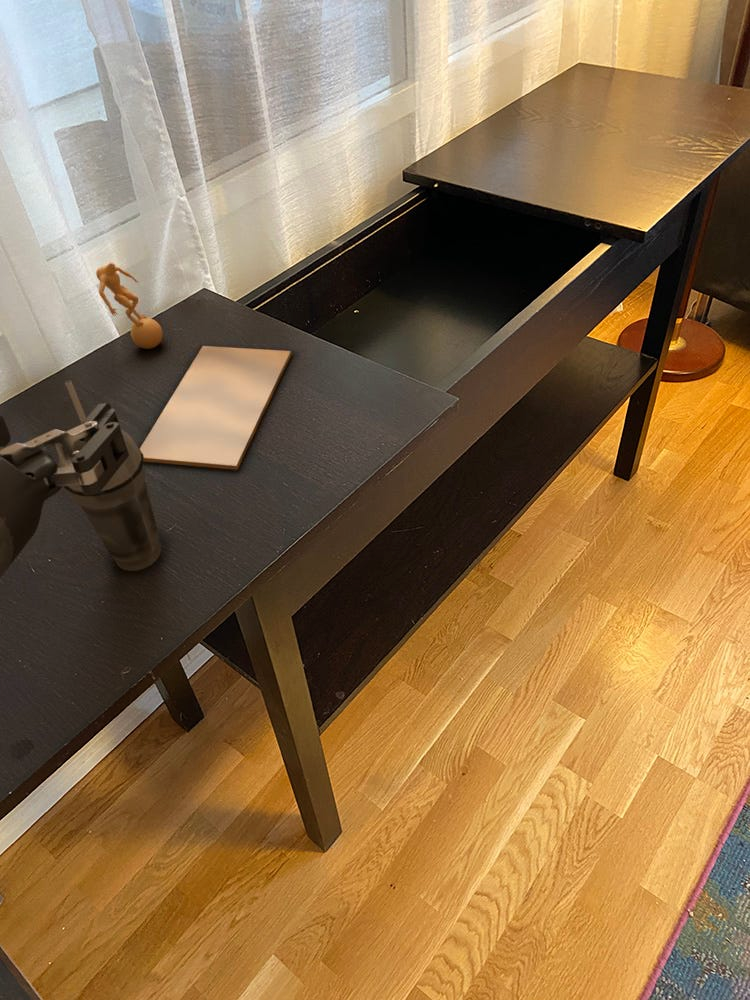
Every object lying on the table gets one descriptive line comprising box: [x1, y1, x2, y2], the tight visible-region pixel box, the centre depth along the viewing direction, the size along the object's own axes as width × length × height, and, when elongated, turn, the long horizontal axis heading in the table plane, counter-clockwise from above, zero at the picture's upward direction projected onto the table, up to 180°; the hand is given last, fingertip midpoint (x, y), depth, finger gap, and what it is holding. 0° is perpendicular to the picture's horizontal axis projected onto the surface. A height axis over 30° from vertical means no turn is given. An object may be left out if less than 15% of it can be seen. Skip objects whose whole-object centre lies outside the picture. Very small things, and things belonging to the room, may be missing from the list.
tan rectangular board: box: [139, 345, 292, 471], centre depth 94 cm, size 22×12×1 cm, turn 169°
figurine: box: [95, 262, 163, 350], centre depth 100 cm, size 8×6×12 cm
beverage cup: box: [58, 380, 162, 572], centre depth 70 cm, size 7×7×20 cm
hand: (55, 421), depth 59 cm, fingers open, 8 cm apart
